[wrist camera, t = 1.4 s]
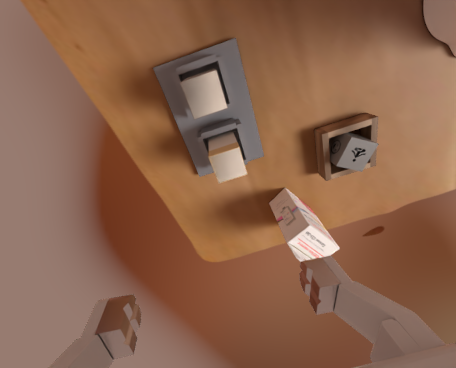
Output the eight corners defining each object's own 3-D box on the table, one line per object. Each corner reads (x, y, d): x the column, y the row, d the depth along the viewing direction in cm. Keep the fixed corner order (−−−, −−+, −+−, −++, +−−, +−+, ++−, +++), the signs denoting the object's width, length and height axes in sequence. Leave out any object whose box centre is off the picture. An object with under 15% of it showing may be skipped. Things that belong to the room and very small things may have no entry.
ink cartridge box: (311, 207, 46) (352, 263, 33) (294, 222, 47) (327, 281, 34) (285, 185, 42) (319, 239, 30) (267, 202, 44) (292, 259, 31)
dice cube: (359, 134, 39) (378, 143, 34) (345, 160, 41) (361, 171, 36) (335, 128, 38) (351, 137, 33) (322, 154, 40) (336, 166, 35)
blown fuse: (213, 67, 30) (216, 69, 23) (222, 97, 32) (227, 108, 25) (186, 77, 31) (179, 82, 23) (197, 105, 33) (194, 119, 25)
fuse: (232, 127, 35) (239, 146, 27) (238, 150, 37) (247, 174, 29) (208, 135, 35) (208, 156, 27) (216, 158, 37) (218, 183, 29)
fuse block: (234, 38, 30) (238, 35, 26) (262, 154, 39) (268, 163, 35) (154, 67, 31) (147, 68, 27) (199, 174, 40) (199, 185, 36)
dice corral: (366, 112, 37) (378, 116, 34) (364, 159, 41) (375, 165, 38) (313, 129, 37) (322, 134, 35) (318, 173, 42) (326, 180, 39)
